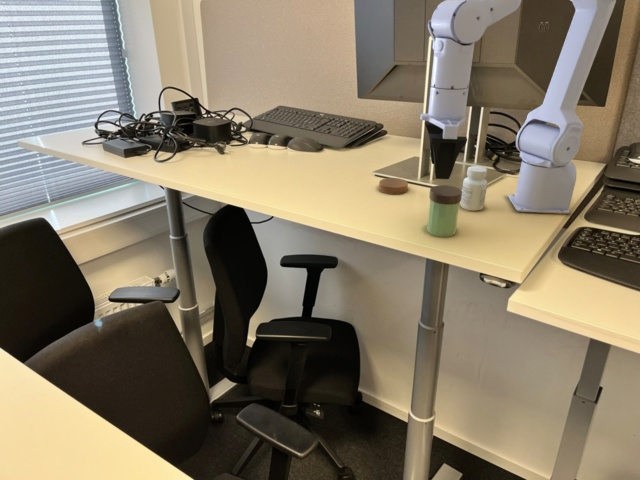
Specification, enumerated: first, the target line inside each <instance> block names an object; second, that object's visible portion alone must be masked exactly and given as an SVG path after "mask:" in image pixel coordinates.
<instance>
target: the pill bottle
mask: <svg viewBox="0 0 640 480" xmlns="http://www.w3.org/2000/svg"><path fill="white" fill-rule="evenodd" d="M487 174H488V169H487V168H486V167H484V166H480V165H471V166H468V167H467V172H466V176H467V177H465V178H464V179H463V180H462V181H463V182H462V188H461V191H462V197H461V201H460V205H459V206H460V208H462V209H464V210H467V211H474V212H475V211H481V210H482V209H484V206H485V202H486V194H487V188H488V181H487V179H486V178H487Z"/></svg>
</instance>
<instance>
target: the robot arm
mask: <svg viewBox="0 0 640 480" xmlns="http://www.w3.org/2000/svg"><path fill="white" fill-rule="evenodd" d="M569 1H570V2H572V5H573V7H574V9H575V11H574V14H573V17H572V20H571V23H570V25H569V27H568V28H569V29H568V30H567V34H566V37H565V39H564V41H563V45H562V47H561V51H560V54H559V56H558V59H557V62H556V65H555V68H554V71H553V73H552V76H551V80H550V82H549V84H548V86H547V87H548V88H547V90H546V93H545V96H544V98H543V102H542V104H541V105H540V106H538V107H536V108H535V109H532V110H531V111H530V112H529V113H528V114H527V116H526V119H525V121H524V123H523V124H522V126H521V127H520V128H519V130H518V132H517V134H516V137H515V147H516V149H517V150H518V151H519V158H520V159H521V164H520V169H519V173H518V179H517V182H516V183H517V184H516V188H515V194H513V193H511V194H510V193H509V194H508V195H507V197H508V199H509V202H511V204H512V205H513V208H514V210H515V211H516V212H519V213H539V214H540V213H541V214H543V213H544V214H565V215H566V214H570V212H571V211H570V210H569V209H570V207H571V202H572V198H573V195H574V190H575V187H576V183H577V167H576V165H575V163H574V162H572V161H573V160H574V158H575V157H576V156H577V154H578V152H579V151H580V146H581V136H582V132H583V129H584V127H585V125H584V124H583V122H582V121H581V119H580V118H579V116H578V114H576V113H577V112H576V109H577V105H578V102H579V100H580V97H581V95H582V92H583V89H584V87H585V84H586V83H587V82H586V81H587V80H588V77H589V75H590V71H591V68H592V66H593V63H594V61H595V58H596V56H597V53H598V50H599V48H600V46H601V43H602V40H603V38H604V34H605V31H606V29H607V27H608V24H609V21H610V18H611V16H612V14H613V11H614V8H615V5H616V3H617V0H569ZM521 3H522V0H443V1H442V2H440V3H439V4H438V5H437V6H436V8H435V9H434V10H433V13H432V15H431V19H429V20H428V21H427V28H428V32H429V34H430V37H431V38H432V39H431V40H432V50H433V57H432V58H433V59H432V60H433V61H432V69H431V80H430V89H429V98H428V99H429V100H428V109H427V113H420V117H419V119H420V121H424V126H425V128H426V130H427V133H428V139H429V151H430V160H431V164H432V165H433V167H434V168H433V169H434V175H435V179H436V180H450V178H451V176H452V173H453V170H454V166H455V164H456V161H457V158H458V156H459V155H460V153H461V151H462V150H463V148H464V147H465V146H466V144H467V142H468V138H467V136H459V135H458V134H459V129H460V127H462V125H464V123H466V120H467V115H466V111H467V104H468V98H469V97H468V95H469V89H470V80H471V74H472V65H473V58H474V51H475V43H476V42H478V41H479V40H480V39H481V38H482V37H483V35H484V33H485V31H486V29H487V28H489V27H490V26H491V25H494V24H495V23H497V22H498V21H500V20H503V19H504V18H505V17H507V16H508V15H510V14H512V13H514V12H516V11H517V10H518V9H519V7H520V5H521ZM548 123H549V124H548ZM551 124H553V125H551ZM555 125H556V126H555Z"/></svg>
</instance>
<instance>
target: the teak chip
mask: <svg viewBox="0 0 640 480" xmlns="http://www.w3.org/2000/svg"><path fill="white" fill-rule="evenodd" d="M408 186H409V183H408V181H406V180H405V179H403V178H398V177H386V178H382V179H380V180H379V183H378V190H379V191H380V192H381V193H383V194H388V195H401V194H405V193H407V192H408V188H409V187H408Z"/></svg>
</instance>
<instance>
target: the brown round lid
mask: <svg viewBox="0 0 640 480" xmlns="http://www.w3.org/2000/svg"><path fill="white" fill-rule="evenodd" d="M461 197H462V189H461V188H459V187H456V186H454V185H453V186H452V185H449V184H448V185H446V184H441V185H434V186H431V188H430V189H429V201H430V200H431V201H433V202H435V203H439V204H445V205H452V204H457V203H459V202H461Z"/></svg>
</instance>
